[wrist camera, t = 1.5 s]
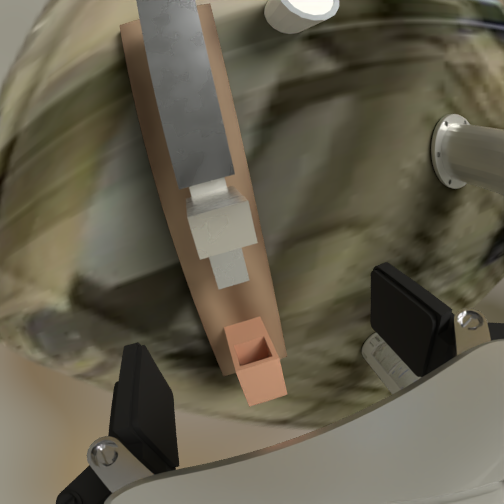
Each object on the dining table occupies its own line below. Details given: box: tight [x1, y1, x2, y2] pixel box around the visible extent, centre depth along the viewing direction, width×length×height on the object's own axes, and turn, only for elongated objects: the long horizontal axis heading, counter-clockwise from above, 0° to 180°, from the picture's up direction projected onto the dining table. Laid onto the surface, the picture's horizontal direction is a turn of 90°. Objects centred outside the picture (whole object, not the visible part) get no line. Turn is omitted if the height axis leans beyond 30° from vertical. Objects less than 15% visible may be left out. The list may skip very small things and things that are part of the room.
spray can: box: [362, 332, 421, 394], centre depth 40 cm, size 7×7×20 cm
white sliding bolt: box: [186, 177, 258, 289], centre depth 21 cm, size 4×27×9 cm, turn 12°
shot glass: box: [264, 0, 339, 34], centre depth 23 cm, size 7×7×7 cm
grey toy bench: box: [136, 0, 235, 190], centre depth 23 cm, size 5×18×8 cm, turn 12°
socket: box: [224, 317, 287, 406], centre depth 36 cm, size 5×7×8 cm
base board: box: [120, 4, 287, 376], centre depth 33 cm, size 10×48×2 cm, turn 12°
